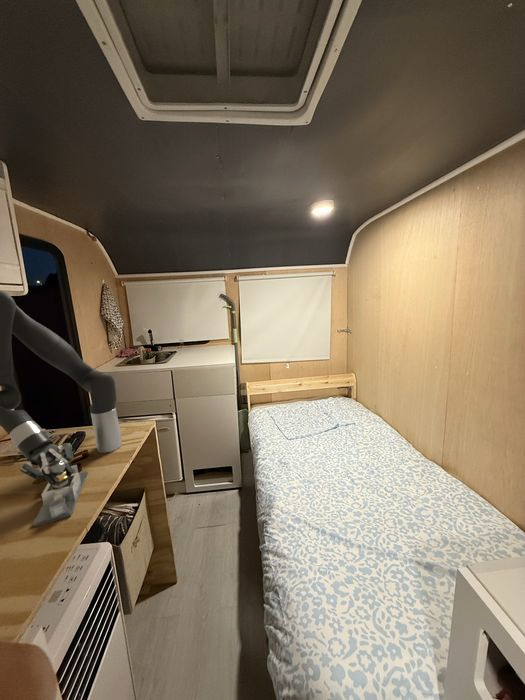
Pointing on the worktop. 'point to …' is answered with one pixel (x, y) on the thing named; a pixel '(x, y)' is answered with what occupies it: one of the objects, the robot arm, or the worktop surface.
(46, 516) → the base
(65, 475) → the grey cylinder with band
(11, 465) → the worktop surface
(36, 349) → the robot arm
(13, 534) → the worktop surface
